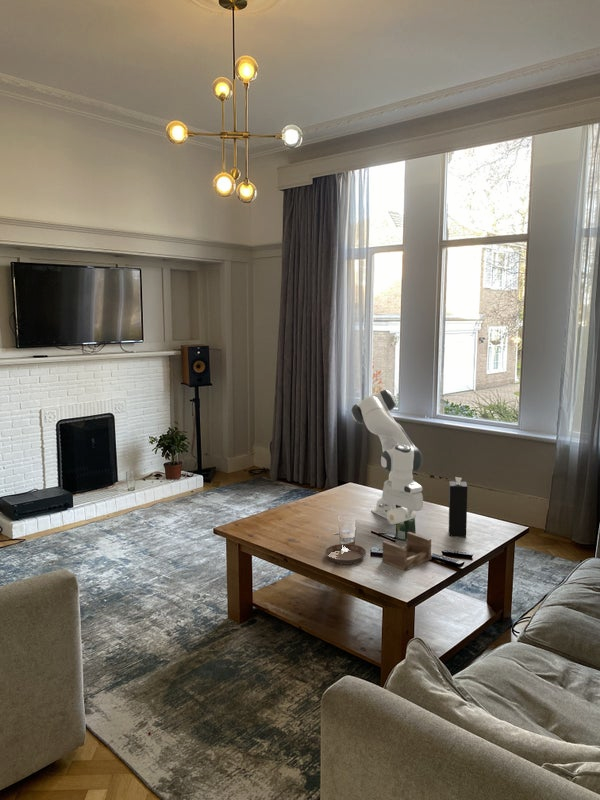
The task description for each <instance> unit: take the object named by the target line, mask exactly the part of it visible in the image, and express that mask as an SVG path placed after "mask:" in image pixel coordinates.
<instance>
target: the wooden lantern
mask: <svg viewBox="0 0 600 800" xmlns="http://www.w3.org/2000/svg"><path fill="white" fill-rule="evenodd" d="M431 560H432V539H431V538H428V537H426V536H423V535H421V534H417V533H416V534H415V533H412V532H407V540H406V545H404V546H401V545H397V544H395V543H393V542H389V541H388V540H384V541H382V559H381V562H382V564H385V565H388V566H391V567H393V568H395V569H398V570H400V571H402V572H405V571H407V570H410V569H412V568H415V567H417V566H420V565H421V564H424V563H425V562H428V561H431Z"/></svg>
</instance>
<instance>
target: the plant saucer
mask: <svg viewBox="0 0 600 800" xmlns="http://www.w3.org/2000/svg"><path fill="white" fill-rule="evenodd" d="M342 545H343V547H344V546H345V547H346V548H348V549H349V550H351V551H348V552H344V553H343V554H341V553H339V554H340V555H336V556H339V557H336V558H340V559H335V558H332V557H329V556H328V555H329V554H330V553H331V552H335V551H340V550H341V549H342ZM336 553H338V552H336ZM324 554H325V556H326V557H327V558H328V559H329V561H331V560H332V561H331V562H333V561H334V562H333V563H335V562H337V563H336V564H339V563H342V564H341V565H352V564H355V563H358V562H360V561H361V560H362V559H363V558H364V557H365V555H366V554H367V551H366V549H365V547H362V546H360V545H358V544H357V545H356V544H354V543H352V544H351V543H339V544H333V545H331V546H329V547H327V548H326V549H325V551H324Z"/></svg>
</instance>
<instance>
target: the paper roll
mask: <svg viewBox="0 0 600 800" xmlns="http://www.w3.org/2000/svg"><path fill="white" fill-rule="evenodd" d="M407 513H408V511H407V508H404V507H400V508H396V509H392V510H389V511H388V512H387V519H386V520H387V521H388V523H389V524H390V525H396V524H397V523H400V522H403V521H407V520H410V519H413V518H415V519H416V517H417V514H418V511H413V512H412V514H411V518H410V519H408V518H406V516H405V514H407Z"/></svg>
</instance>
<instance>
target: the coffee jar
mask: <svg viewBox="0 0 600 800" xmlns="http://www.w3.org/2000/svg"><path fill="white" fill-rule="evenodd" d="M395 506H396V508H400V507H401V506H398V505H395ZM416 531H417V530H416V517H415V518H413V519H410V520H407V521H403V522H400V523H397V524H395V533H394V534H395V535H394V536H395V538H397V539H398V540H401V541H407V532H412V533H415V534H417V533H416Z"/></svg>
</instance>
